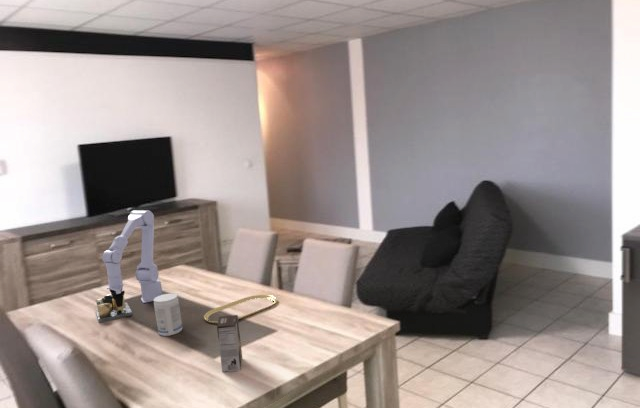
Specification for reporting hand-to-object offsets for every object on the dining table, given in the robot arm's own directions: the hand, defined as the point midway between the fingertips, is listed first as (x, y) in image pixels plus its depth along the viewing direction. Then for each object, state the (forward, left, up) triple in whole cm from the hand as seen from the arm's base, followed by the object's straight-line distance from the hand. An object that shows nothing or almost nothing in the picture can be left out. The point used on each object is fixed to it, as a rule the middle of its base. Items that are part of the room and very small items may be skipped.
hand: (119, 304), depth 232 cm
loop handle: (-46, +33, -5) cm, 57 cm away
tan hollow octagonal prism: (0, 0, -2) cm, 2 cm away
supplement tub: (-14, +37, -5) cm, 40 cm away
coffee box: (-26, +82, -5) cm, 86 cm away
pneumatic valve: (+8, -18, -2) cm, 20 cm away
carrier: (+3, -3, -4) cm, 6 cm away
